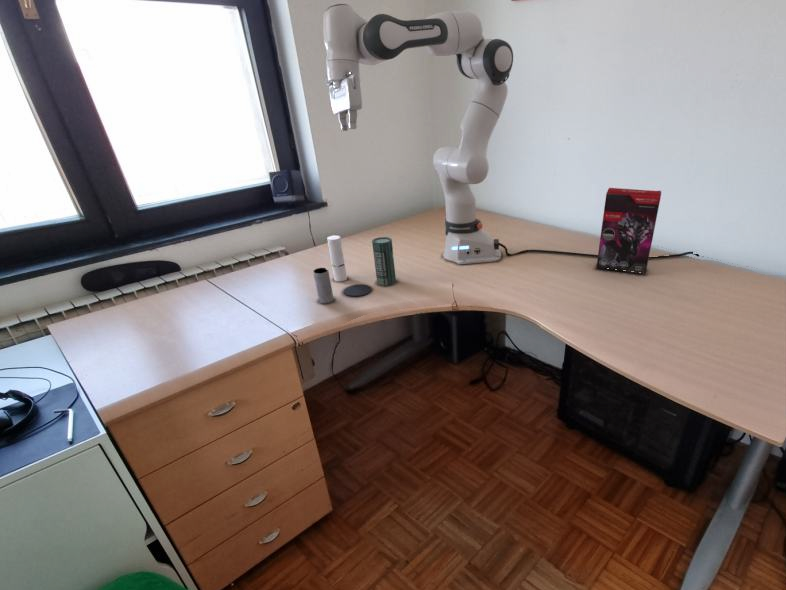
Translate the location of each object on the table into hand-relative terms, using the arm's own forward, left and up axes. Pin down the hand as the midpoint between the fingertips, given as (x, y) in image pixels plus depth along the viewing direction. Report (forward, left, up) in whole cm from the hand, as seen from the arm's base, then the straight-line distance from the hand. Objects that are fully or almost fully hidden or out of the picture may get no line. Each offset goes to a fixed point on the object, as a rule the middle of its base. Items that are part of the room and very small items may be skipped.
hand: (348, 129), depth 132 cm
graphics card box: (-89, -8, -48) cm, 101 cm away
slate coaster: (+3, +7, -48) cm, 49 cm away
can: (-6, 0, -48) cm, 49 cm away
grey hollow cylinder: (+11, +14, -48) cm, 51 cm away
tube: (+11, -3, -48) cm, 50 cm away
